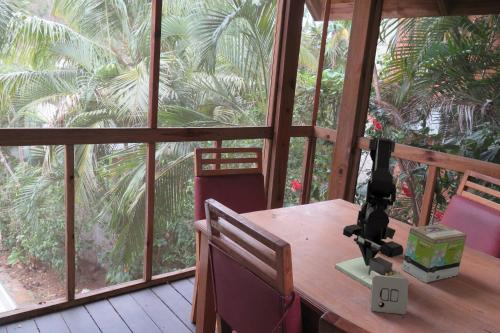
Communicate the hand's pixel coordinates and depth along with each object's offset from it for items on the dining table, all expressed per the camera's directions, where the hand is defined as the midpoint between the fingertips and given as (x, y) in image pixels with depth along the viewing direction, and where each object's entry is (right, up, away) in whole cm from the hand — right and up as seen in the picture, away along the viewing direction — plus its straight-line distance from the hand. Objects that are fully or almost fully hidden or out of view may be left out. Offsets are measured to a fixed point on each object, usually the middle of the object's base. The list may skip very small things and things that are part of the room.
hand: (367, 265), depth 125 cm
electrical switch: (-1, -7, -17) cm, 19 cm away
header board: (0, -3, 0) cm, 3 cm away
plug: (+3, -3, -3) cm, 5 cm away
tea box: (+21, -4, +5) cm, 22 cm away
